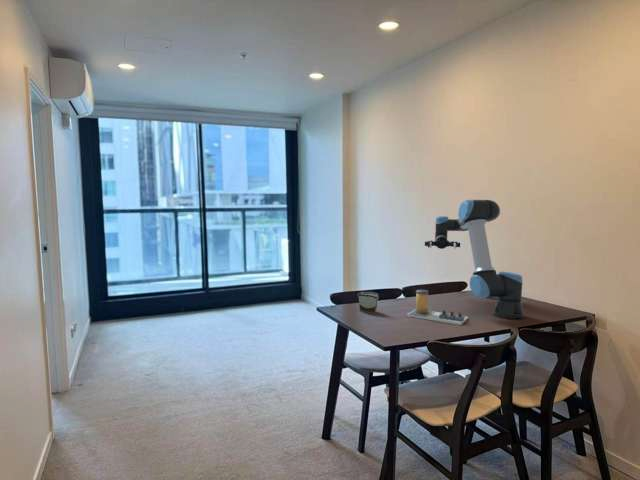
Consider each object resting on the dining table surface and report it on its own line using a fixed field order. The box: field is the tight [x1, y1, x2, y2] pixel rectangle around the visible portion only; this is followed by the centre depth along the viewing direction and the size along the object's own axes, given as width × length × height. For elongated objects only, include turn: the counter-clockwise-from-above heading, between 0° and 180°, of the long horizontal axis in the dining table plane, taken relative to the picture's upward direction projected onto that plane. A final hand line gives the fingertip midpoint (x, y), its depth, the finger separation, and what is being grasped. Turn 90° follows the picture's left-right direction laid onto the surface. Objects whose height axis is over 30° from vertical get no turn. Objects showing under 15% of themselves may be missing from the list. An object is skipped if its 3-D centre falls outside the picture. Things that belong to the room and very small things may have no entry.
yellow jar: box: [415, 289, 429, 314], centre depth 234 cm, size 6×6×12 cm
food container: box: [357, 291, 380, 314], centre depth 241 cm, size 12×6×10 cm, turn 56°
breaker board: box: [406, 308, 469, 326], centre depth 229 cm, size 28×13×5 cm, turn 57°
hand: (442, 245), depth 252 cm, fingers open, 13 cm apart
